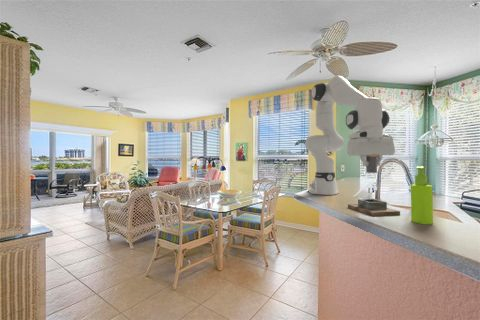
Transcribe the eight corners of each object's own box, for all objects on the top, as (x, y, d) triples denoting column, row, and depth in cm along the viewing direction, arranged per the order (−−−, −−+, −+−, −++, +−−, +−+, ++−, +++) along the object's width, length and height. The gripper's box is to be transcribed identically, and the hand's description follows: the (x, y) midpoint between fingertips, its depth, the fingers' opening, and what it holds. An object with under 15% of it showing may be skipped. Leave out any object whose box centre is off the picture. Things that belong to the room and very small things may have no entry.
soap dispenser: (409, 222, 75) (409, 166, 76) (412, 218, 80) (411, 165, 80) (432, 226, 71) (431, 166, 71) (433, 221, 76) (432, 165, 76)
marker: (364, 172, 95) (363, 154, 95) (372, 172, 95) (372, 154, 95) (370, 172, 91) (370, 154, 91) (379, 172, 91) (378, 154, 91)
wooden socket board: (347, 207, 100) (347, 197, 100) (371, 206, 102) (371, 197, 102) (372, 216, 85) (372, 204, 85) (400, 214, 86) (399, 203, 86)
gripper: (386, 135, 98) (387, 165, 97) (344, 135, 95) (345, 166, 95) (398, 133, 91) (399, 165, 91) (353, 133, 89) (354, 166, 89)
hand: (371, 166), depth 93 cm, fingers closed on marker, 4 cm apart
